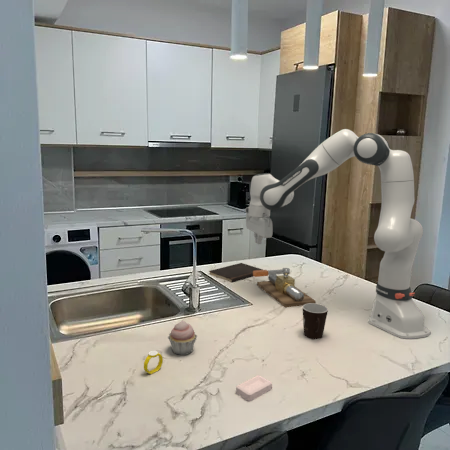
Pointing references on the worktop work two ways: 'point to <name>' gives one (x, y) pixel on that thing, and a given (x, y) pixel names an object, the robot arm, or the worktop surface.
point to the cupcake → (182, 338)
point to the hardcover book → (234, 272)
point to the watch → (150, 355)
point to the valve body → (286, 286)
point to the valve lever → (270, 272)
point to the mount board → (283, 295)
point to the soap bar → (253, 387)
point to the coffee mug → (314, 320)
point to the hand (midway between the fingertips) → (258, 243)
